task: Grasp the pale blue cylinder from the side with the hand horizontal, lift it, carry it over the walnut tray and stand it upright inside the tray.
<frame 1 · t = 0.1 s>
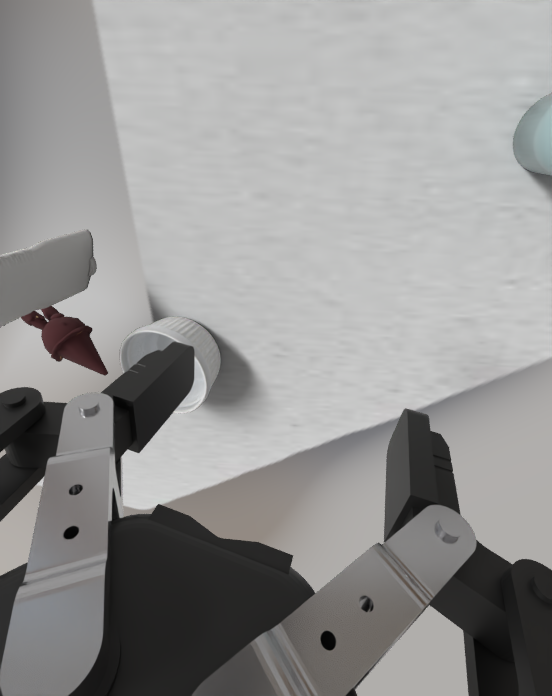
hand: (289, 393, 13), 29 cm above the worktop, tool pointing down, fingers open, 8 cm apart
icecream: (86, 330, 56), on the worktop
tall pale column: (85, 261, 50), on the worktop
ramekin: (188, 348, 52), on the worktop
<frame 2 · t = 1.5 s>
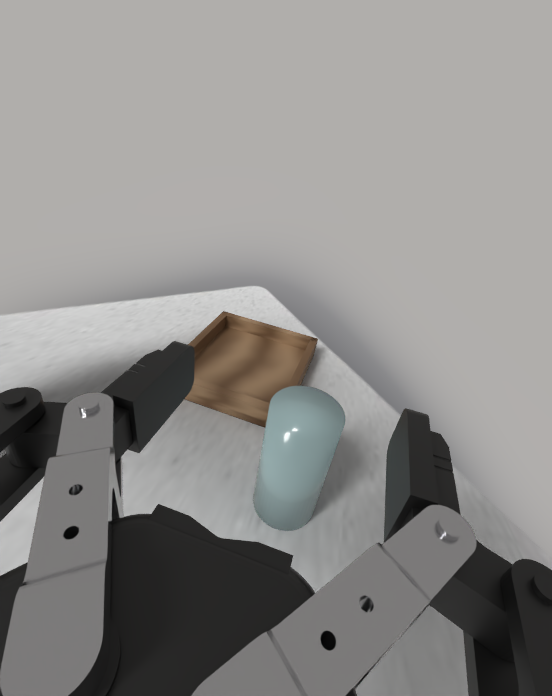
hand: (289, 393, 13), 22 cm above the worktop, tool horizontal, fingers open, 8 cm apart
pale blue cylinder: (283, 499, 34), on the worktop
tray: (246, 370, 50), on the worktop
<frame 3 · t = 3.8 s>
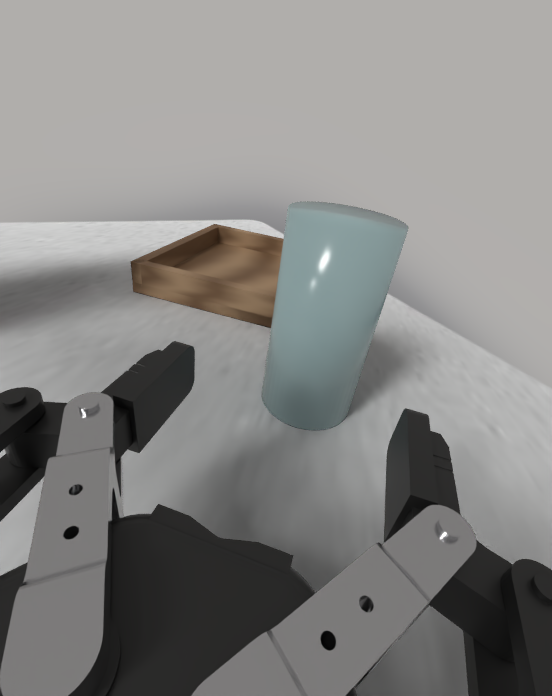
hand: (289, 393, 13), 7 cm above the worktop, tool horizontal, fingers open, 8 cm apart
pale blue cylinder: (305, 397, 24), on the worktop
tray: (244, 280, 40), on the worktop
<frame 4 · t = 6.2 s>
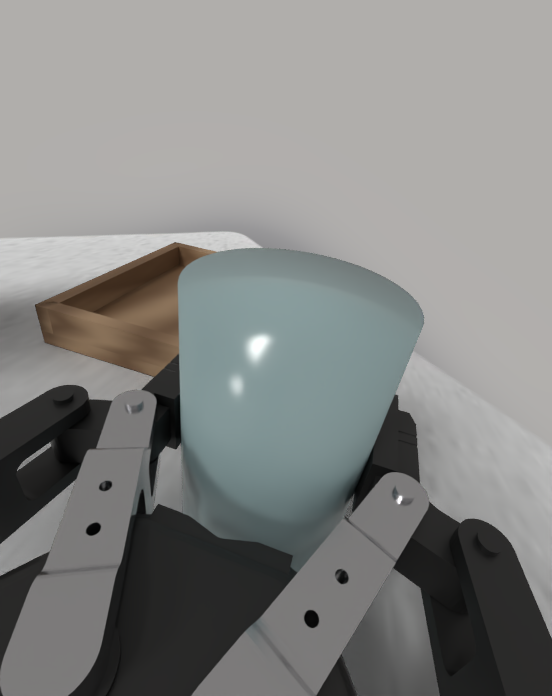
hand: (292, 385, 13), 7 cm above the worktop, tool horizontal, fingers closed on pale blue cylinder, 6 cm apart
pale blue cylinder: (254, 542, 15), on the worktop, touching gripper
tray: (203, 318, 31), on the worktop
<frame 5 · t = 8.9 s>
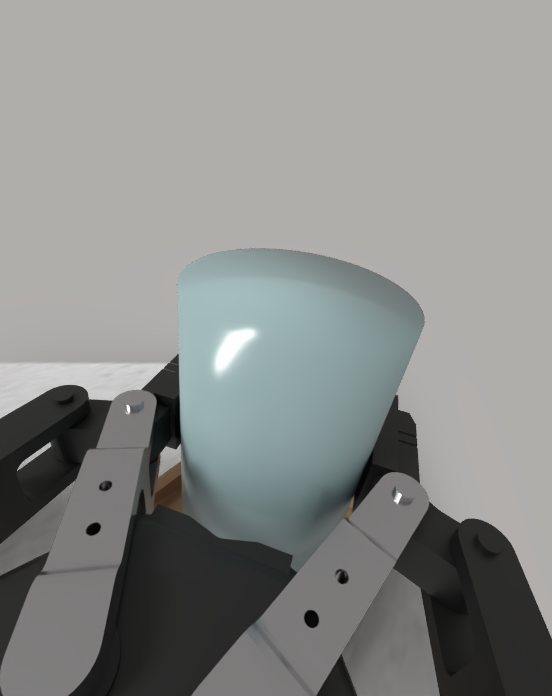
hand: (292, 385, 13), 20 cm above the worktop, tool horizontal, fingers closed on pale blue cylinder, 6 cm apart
pale blue cylinder: (254, 543, 15), point 13 cm above the worktop, touching gripper
tray: (234, 558, 27), on the worktop
when the fingers open (9 cm above the worktop, at t = 11.8 s): pale blue cylinder drops 1 cm, resting on tray.
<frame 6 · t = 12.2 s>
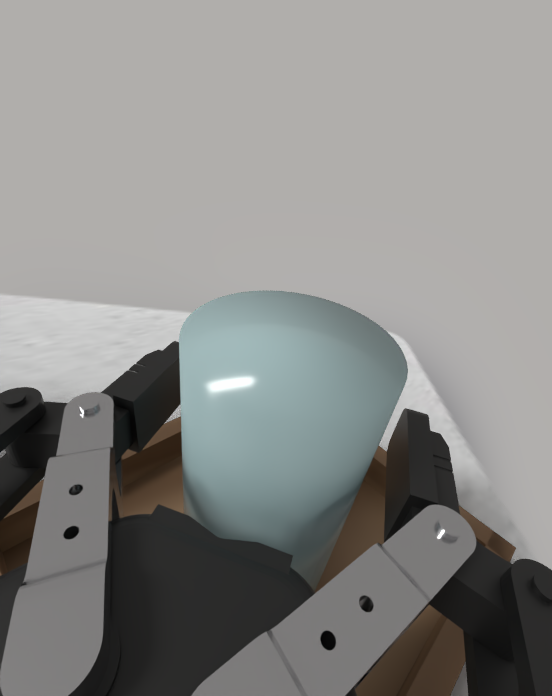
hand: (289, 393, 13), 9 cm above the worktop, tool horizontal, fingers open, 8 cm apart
pale blue cylinder: (252, 558, 16), point 1 cm above the worktop, touching tray
tray: (248, 570, 17), on the worktop
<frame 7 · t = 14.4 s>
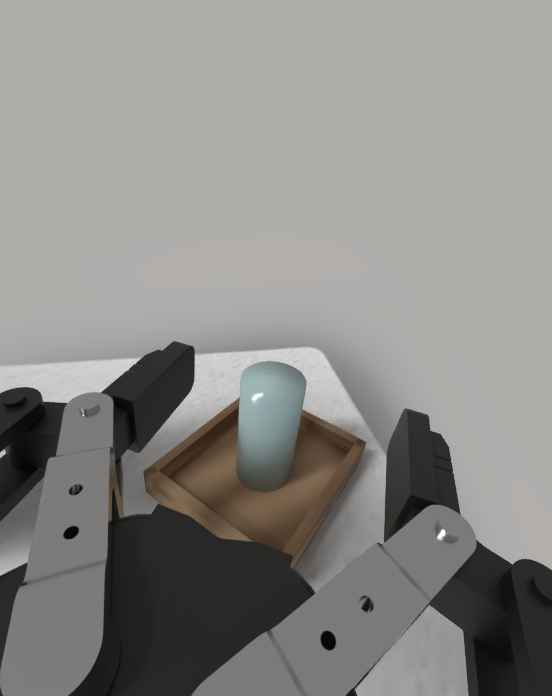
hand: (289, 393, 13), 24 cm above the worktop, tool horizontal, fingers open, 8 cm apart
pale blue cylinder: (263, 468, 38), point 1 cm above the worktop, touching tray
tray: (262, 474, 39), on the worktop
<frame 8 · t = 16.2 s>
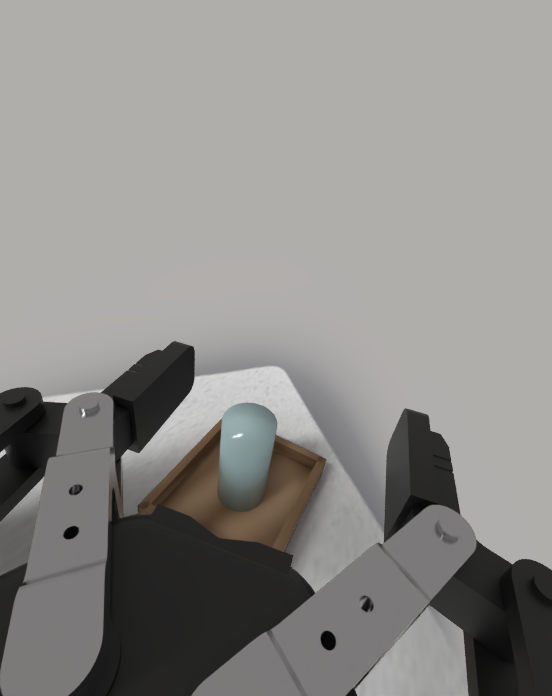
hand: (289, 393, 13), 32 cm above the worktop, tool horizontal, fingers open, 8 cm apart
pale blue cylinder: (241, 489, 44), point 1 cm above the worktop, touching tray
tray: (240, 494, 45), on the worktop
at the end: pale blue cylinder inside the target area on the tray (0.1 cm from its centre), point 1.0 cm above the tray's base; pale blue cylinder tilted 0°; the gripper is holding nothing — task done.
